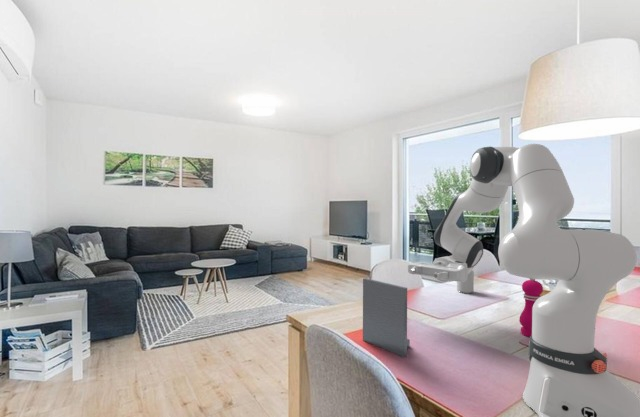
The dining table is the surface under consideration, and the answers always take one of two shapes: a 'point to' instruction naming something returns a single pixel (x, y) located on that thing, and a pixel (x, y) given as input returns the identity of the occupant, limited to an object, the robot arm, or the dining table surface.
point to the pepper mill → (529, 304)
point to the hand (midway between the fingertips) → (423, 273)
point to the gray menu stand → (385, 316)
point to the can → (467, 284)
